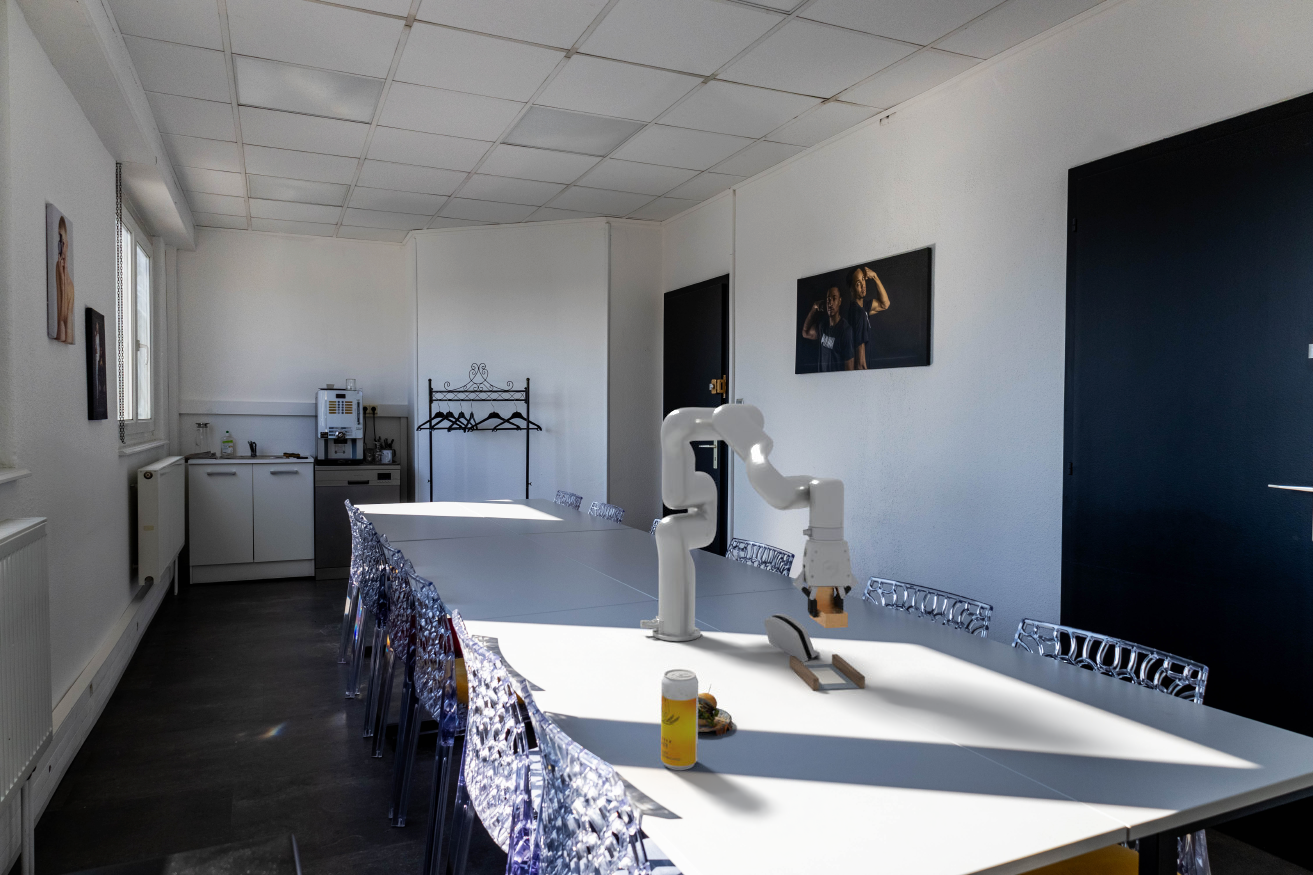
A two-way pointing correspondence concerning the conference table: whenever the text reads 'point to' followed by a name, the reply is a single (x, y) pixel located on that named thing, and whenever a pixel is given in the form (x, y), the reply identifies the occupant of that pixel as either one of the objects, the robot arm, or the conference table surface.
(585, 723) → the conference table surface
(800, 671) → the bay walls
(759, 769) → the conference table surface
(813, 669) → the bay mat
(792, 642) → the grey slotted curved block
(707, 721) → the burger
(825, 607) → the bracket
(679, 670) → the beer can
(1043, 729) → the conference table surface
